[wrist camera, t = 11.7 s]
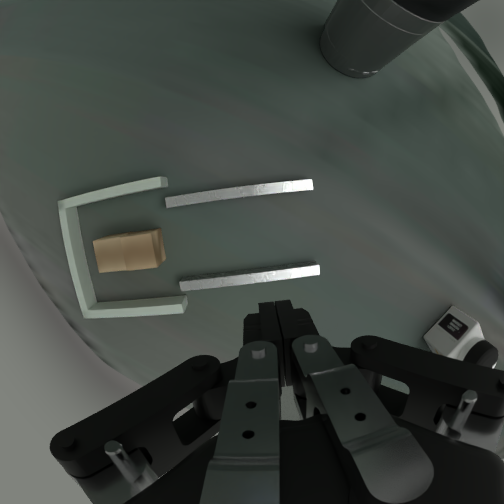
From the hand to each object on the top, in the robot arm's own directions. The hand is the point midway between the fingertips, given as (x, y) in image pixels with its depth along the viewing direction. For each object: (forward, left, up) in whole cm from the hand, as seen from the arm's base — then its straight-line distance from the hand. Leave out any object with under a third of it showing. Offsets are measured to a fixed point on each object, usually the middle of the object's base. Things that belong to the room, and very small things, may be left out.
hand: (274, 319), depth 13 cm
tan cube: (-1, -14, -22) cm, 26 cm away
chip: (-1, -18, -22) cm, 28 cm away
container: (+20, +31, -22) cm, 43 cm away
